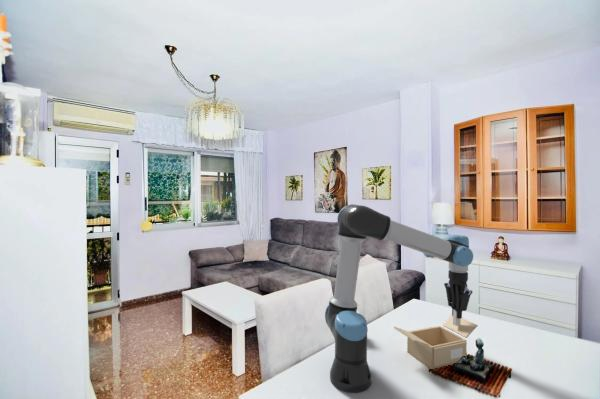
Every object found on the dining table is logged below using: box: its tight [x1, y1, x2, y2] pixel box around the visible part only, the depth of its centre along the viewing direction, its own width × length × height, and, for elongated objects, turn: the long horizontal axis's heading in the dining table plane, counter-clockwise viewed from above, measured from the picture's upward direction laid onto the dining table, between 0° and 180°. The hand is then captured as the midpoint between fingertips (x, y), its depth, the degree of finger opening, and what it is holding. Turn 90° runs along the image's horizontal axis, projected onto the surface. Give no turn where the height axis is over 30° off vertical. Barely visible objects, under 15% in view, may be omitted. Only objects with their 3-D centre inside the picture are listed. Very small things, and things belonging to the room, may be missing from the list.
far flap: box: [442, 314, 478, 339], centre depth 131 cm, size 1×12×8 cm
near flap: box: [393, 326, 428, 346], centre depth 122 cm, size 1×12×8 cm
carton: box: [406, 325, 468, 370], centre depth 127 cm, size 18×16×9 cm
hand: (456, 324), depth 130 cm, fingers closed
